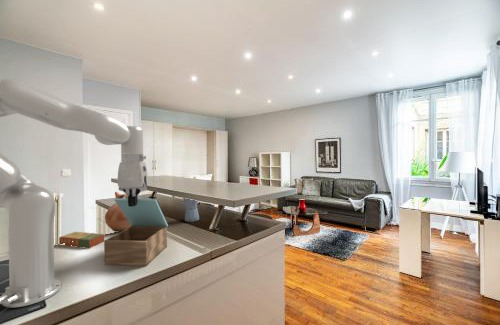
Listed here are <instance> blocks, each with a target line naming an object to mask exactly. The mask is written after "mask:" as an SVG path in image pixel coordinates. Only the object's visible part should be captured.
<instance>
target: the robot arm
mask: <svg viewBox="0 0 500 325" xmlns="http://www.w3.org/2000/svg"><path fill="white" fill-rule="evenodd" d="M15 114H19V115H21V116H25V117H27V118H31V119H34V120H35V121H39V122H41V123H44V124H47V125H49V126H52V127H55V128H58V129H61V130H65V131H66V130H67V131H75V132H82V133H85V134H89V135H91V136H94V138H95V140H96V141H97V142H98V143H100V144H102V145H105V146H113V145H120V158H121V160H120V161H121V162H119V165H118V170H117V186H118V191H120V192H123V193H124V194H126V196H128V206H129V207H133V206H136V205H137V203H138V199H139V197H138V196H139V195H140V194H141V193H142V192H145V191H147V190H148V189H147V187H148V186H149V178H148V176H149V175H148V169H147V164H146V162H145V161H144V160H147V156H146V155H144V132H143V130H144V129H142V127H140V126H137V125H136V126H135V125H134V126H133V125H126V124H124V123H123V122H122V121H120V120H117V119H115V118H112V117H111V116H109V115H106V114H103V113H100V112H98V111H95V110H92V109H89V108H85V107H83V106H80V105H78V104H77V105H76V104H74V103H71V102H68V101H66V100H64V99H62V98H59V97H57V96H54V95H52V94H50V93H48V92H46V91H43V90H41V89H39V88H37V87H34V86H32V85H31V84H28V83H25V82H23V81H20V80H17V79H13V78H4V79H0V118H1V117H6V116H10V115H15ZM0 206H1V207H3V208H4V209H6V211H8V235H7V236H8V238H7V239H8V242H7V244H8V269H9V270H8V273H9V276H8V277H9V286H7V287H5V288H4V289H5V290H4V291H5V292H3V293H2V295H1V296H0V305H2V306H3V307H5V308H14V309H15V308H20V307H21V308H22V307H27V306H29V305H33V304H36V303H40V302H43V301H44V300H47V299H48V298H50V297H52V296H54V295H55V294H56V293H58V292H59V291H60V290H61V288H62V281H61V280H59V279H56V278H55V237H54V236H55V234H54V233H55V232H54V227H55V226H54V223H55V214H56V199H55V197H54V194H52V193H51V191H50V190H48V189H47V188H45V187H42V186H40V185H37V184H36V183H34V182H33V181H32V180H31V179H30V178H29V177H27V176H26V175H25V174H24V173H23V172H21V170H20V168H19V166H18V165H17V164H16V163H14V162H13V161H12V160H10V159H8V158H7V157H6V156H5V155H4V154H2V153H1V152H0Z"/></svg>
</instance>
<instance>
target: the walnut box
mask: <svg viewBox="0 0 500 325" xmlns="http://www.w3.org/2000/svg"><path fill="white" fill-rule="evenodd" d="M167 229H168V227H152V226H131V227H129V228H127V229H125V230H123V231H121V232H117V233H116V234H114V235H113V236H111V237H109V238H106V239H104V242H103V243H104V244H103V246H104V247H103V248H104V252H103V253H104V254H103V256H104V261H103V262H104V266H129V267H130V266H131V267H132V266H134V267H148V266H149V265H150V263H151V262H152V261H154V260H155V259H156V258H157V257H158V256H159V255H160V254H161V253H162V252H163V251H165V249H166V248H167V247H168V242H167V241H168V240H167V238H168V230H167Z"/></svg>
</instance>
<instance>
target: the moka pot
mask: <svg viewBox="0 0 500 325" xmlns="http://www.w3.org/2000/svg"><path fill="white" fill-rule="evenodd" d="M182 199H183V204H184V206H185V211H184V212H185V213H184V222H186V221H187V222H186V223H193V222H198V221H199V220H200V214H199V211H198V210H199V209H198V206H200V205H201V202H199V200H198V201H195V200H190V199H185V198H183V197H182Z"/></svg>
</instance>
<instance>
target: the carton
mask: <svg viewBox="0 0 500 325" xmlns="http://www.w3.org/2000/svg"><path fill="white" fill-rule="evenodd" d="M58 240H59V241H58V242H59V243H58V245H59V244H63V243H65V245H66V246H65V247H70V246H71V245H72V246H77V247H76V248H80V247H85V248H84V249H91V247H92V248H94V247H96V246H99V245H101V244H102V243H104V241H105V234H104V233H94V232H93V233H92V232H86V231H85V232H83V231H73V232H70V233H66V234H65V235H62V236H60V237H59V238H58ZM72 241H73V242H72ZM93 246H94V247H93Z"/></svg>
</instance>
